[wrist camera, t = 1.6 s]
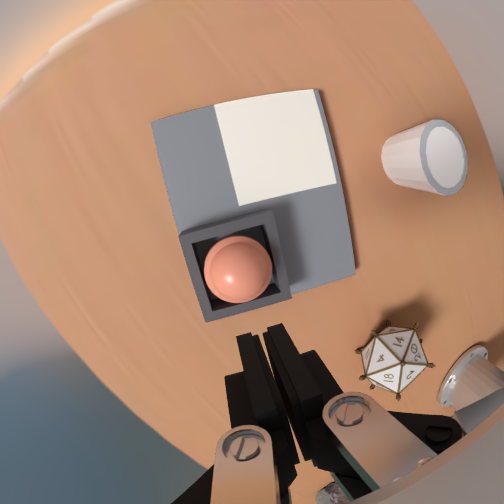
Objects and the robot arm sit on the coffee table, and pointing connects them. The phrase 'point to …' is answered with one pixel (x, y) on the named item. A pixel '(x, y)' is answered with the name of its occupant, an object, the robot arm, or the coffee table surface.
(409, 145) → the shot glass
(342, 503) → the mineral rock
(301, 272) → the board
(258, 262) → the dome
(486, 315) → the coffee table surface
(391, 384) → the game die
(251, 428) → the robot arm
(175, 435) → the coffee table surface
